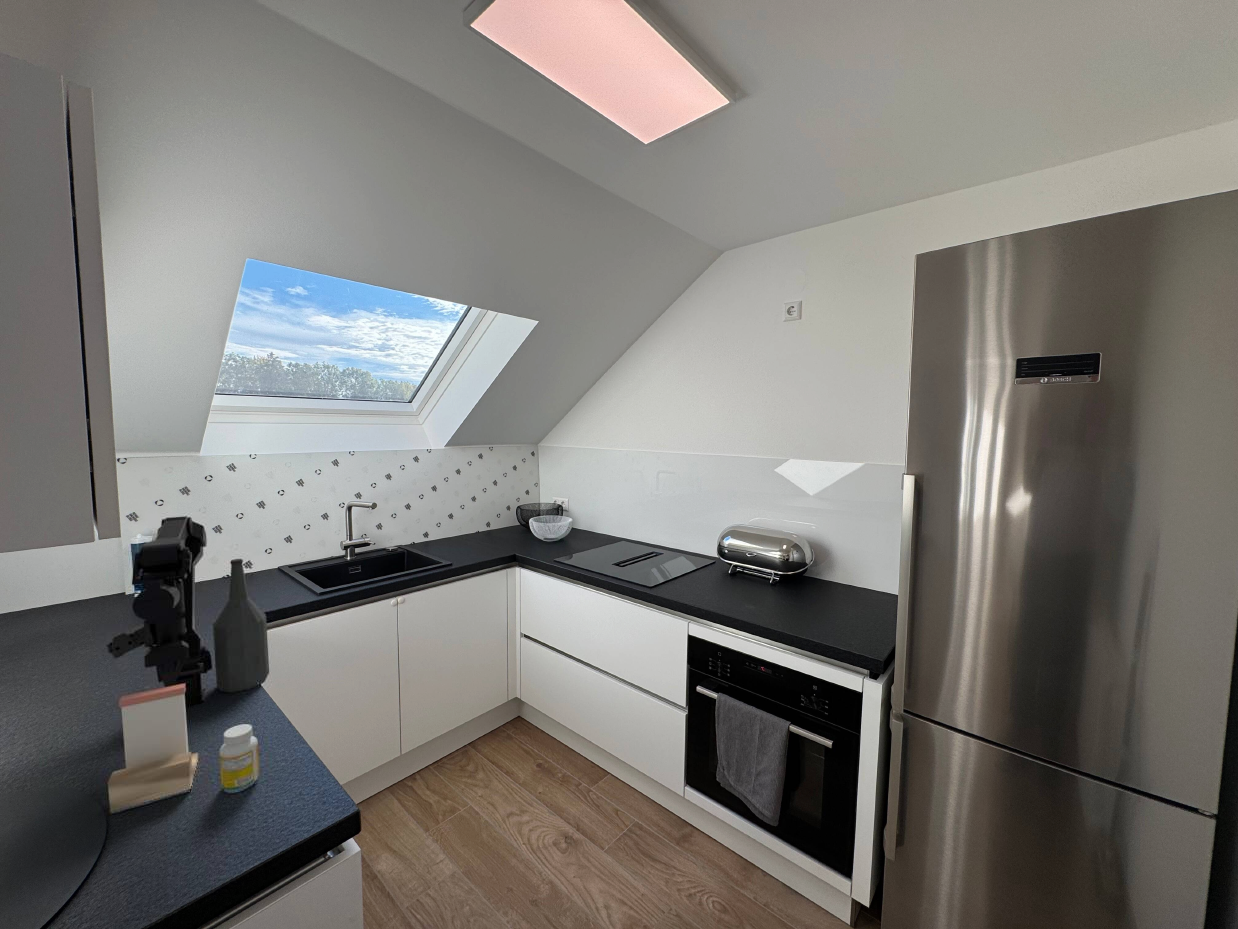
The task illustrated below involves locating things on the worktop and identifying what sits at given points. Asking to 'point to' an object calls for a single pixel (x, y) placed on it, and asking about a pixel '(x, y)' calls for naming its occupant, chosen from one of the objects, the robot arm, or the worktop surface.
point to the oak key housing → (151, 780)
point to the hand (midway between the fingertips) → (169, 688)
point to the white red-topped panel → (154, 724)
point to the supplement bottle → (239, 758)
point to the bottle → (240, 638)
